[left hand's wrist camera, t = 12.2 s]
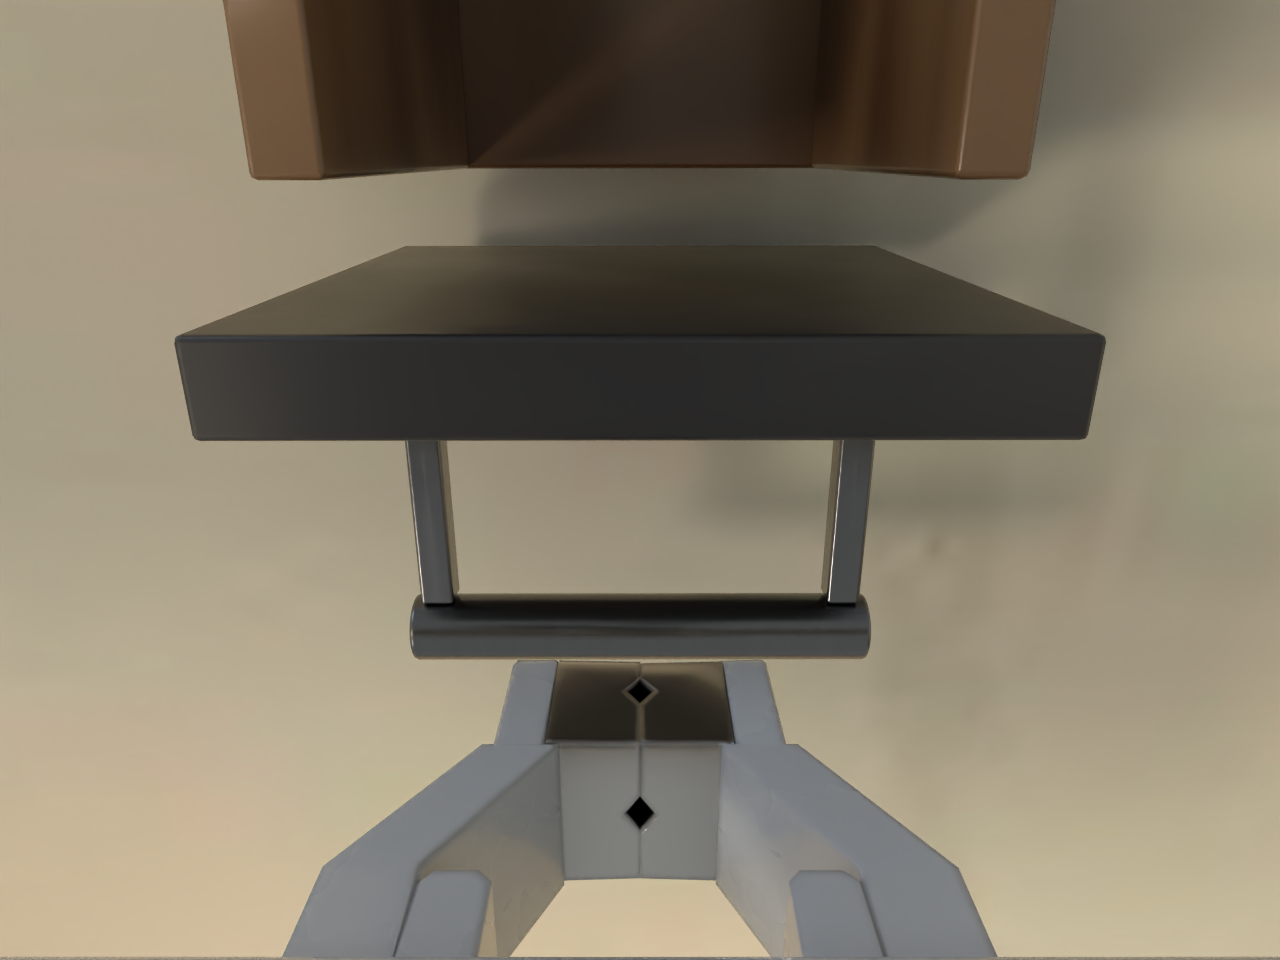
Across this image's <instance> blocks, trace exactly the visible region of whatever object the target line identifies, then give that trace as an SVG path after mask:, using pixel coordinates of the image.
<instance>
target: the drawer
mask: <svg viewBox="0 0 1280 960" xmlns="http://www.w3.org/2000/svg"><path fill="white" fill-rule="evenodd" d="M1055 1H1056V0H223V3H224V10H225V16H226V23H227V29H228V36H229V42H230V49H231V55H232V62H233V68H234V74H235V81H236V87H237V94H238V100H239V107H240V113H241V120H242V126H243V133H244V139H245V146H246V152H247V159H248V165H249V171H250V174H251V177H252V178H254V179H257V180H328V179H340V178H353V177H365V176H377V175H390V174H402V173H415V172H427V171H440V170H452V169H464V168H821V169H834V170H847V171H860V172H872V173H885V174H898V175H911V176H924V177H937V178H950V179H1021V178H1023V177H1026V176H1027V174H1028V172H1029V170H1030V165H1031V158H1032V152H1033V145H1034V139H1035V132H1036V125H1037V119H1038V112H1039V106H1040V99H1041V93H1042V86H1043V80H1044V73H1045V66H1046V60H1047V53H1048V47H1049V40H1050V34H1051V27H1052V20H1053V14H1054V7H1055ZM1105 344H1106V341H1105V337H1104V336H1103V335H1101V334H1099V333H1096V332H1094V331H1091V330H1089V329H1086V328H1084V327H1081V326H1078V325H1076V324H1073V323H1071V322H1068V321H1066V320H1063V319H1060V318H1058V317H1055V316H1053V315H1050V314H1048V313H1045V312H1042V311H1040V310H1037V309H1035V308H1032V307H1030V306H1027V305H1025V304H1022V303H1019V302H1017V301H1014V300H1012V299H1009V298H1007V297H1004V296H1001V295H999V294H996V293H994V292H991V291H989V290H986V289H983V288H981V287H978V286H976V285H973V284H971V283H968V282H966V281H963V280H960V279H958V278H955V277H953V276H950V275H948V274H945V273H942V272H940V271H937V270H935V269H932V268H930V267H927V266H924V265H922V264H919V263H917V262H914V261H912V260H909V259H906V258H904V257H901V256H899V255H896V254H894V253H891V252H889V251H886V250H883V249H881V248H878V247H876V246H405V247H403V248H400V249H398V250H395V251H392V252H390V253H387V254H385V255H382V256H380V257H377V258H375V259H372V260H370V261H367V262H364V263H362V264H359V265H357V266H354V267H352V268H349V269H347V270H344V271H342V272H339V273H336V274H334V275H331V276H329V277H326V278H324V279H321V280H319V281H316V282H314V283H311V284H308V285H306V286H303V287H301V288H298V289H296V290H293V291H291V292H288V293H286V294H283V295H281V296H278V297H275V298H273V299H270V300H268V301H265V302H263V303H260V304H258V305H255V306H253V307H250V308H247V309H245V310H242V311H240V312H237V313H235V314H232V315H230V316H227V317H225V318H222V319H219V320H217V321H214V322H212V323H209V324H207V325H204V326H202V327H199V328H197V329H194V330H191V331H189V332H186V333H184V334H181V335H179V336H177V337H176V338H175V348H176V354H177V359H178V364H179V369H180V374H181V379H182V384H183V389H184V394H185V399H186V404H187V409H188V414H189V419H190V424H191V429H192V435H193V437H194V438H195V439H196V440H200V441H405V446H406V456H407V465H408V475H409V484H410V494H411V503H412V513H413V523H414V532H415V542H416V551H417V561H418V570H419V580H420V590H421V594H420V595H418V596H417V597H416V599H415V601H414V604H413V607H412V611H411V617H410V644H411V649H412V653H413V655H414V657H415V658H417V659H862V658H865V657H866V656H867V654H868V651H869V647H870V640H871V621H870V613H869V608H868V605H867V602H866V599H865V598H864V596H863V595H862V594H860V584H861V574H862V564H863V555H864V545H865V535H866V525H867V516H868V506H869V496H870V486H871V477H872V467H873V457H874V447H875V440H1081V439H1084V438H1086V436H1087V435H1088V431H1089V426H1090V421H1091V416H1092V410H1093V405H1094V400H1095V395H1096V390H1097V385H1098V380H1099V375H1100V370H1101V364H1102V359H1103V354H1104V349H1105ZM517 440H834V442H833V454H832V466H831V478H830V489H829V501H828V513H827V525H826V537H825V549H824V561H823V572H822V584H821V589H822V591H823V593H588V594H457V593H458V590H459V580H458V568H457V556H456V545H455V533H454V522H453V510H452V498H451V487H450V475H449V464H448V452H447V441H517Z"/></svg>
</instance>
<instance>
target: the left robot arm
mask: <svg viewBox="0 0 1280 960" xmlns="http://www.w3.org/2000/svg"><path fill="white" fill-rule="evenodd" d="M627 878H651V879H687V880H716V885H717V886H718V887H719V889H720V890H721V891H722V893H723V894H724V895H725V897H726V898H727V899H728V901H729V902H730V903H731V904H732V906H733V907H734V908H735V910H736V911H737V912H738V914H739V915H740V916H741V918H742V919H743V920H744V922H745V923H746V924H747V926H748V927H749V928H750V930H751V931H752V932H753V934H754V935H755V936H756V938H757V939H758V940H759V942H760V943H761V944H762V946H763V947H764V948H765V950H766V951H767V952H768V954H769V955H770V956H771V957H510V955H511V954H512V953H513V952H514V950H515V949H516V948H517V946H518V945H519V944H520V942H521V941H522V940H523V938H524V937H525V936H526V934H527V933H528V932H529V930H530V929H531V928H532V926H533V925H534V924H535V922H536V921H537V920H538V919H539V917H540V916H541V915H542V913H543V912H544V911H545V909H546V908H547V907H548V905H549V904H550V903H551V901H552V900H553V899H554V897H555V896H556V895H557V893H558V892H559V891H560V889H561V888H562V887H563V886H564V880H592V879H627ZM0 960H1280V957H997V954H996V952H995V950H994V948H993V945H992V943H991V941H990V938H989V936H988V934H987V932H986V929H985V927H984V925H983V923H982V920H981V918H980V916H979V914H978V911H977V909H976V907H975V904H974V902H973V900H972V898H971V895H970V893H969V891H968V889H967V886H966V884H965V882H964V880H963V877H962V875H961V873H960V870H959V868H958V867H957V866H955V865H954V864H953V863H951V862H950V861H949V860H947V859H946V858H945V857H944V856H942V855H941V854H940V853H938V852H937V851H936V850H934V849H933V848H932V847H931V846H929V845H928V844H927V843H925V842H924V841H923V840H921V839H920V838H919V837H918V836H916V835H915V834H914V833H912V832H911V831H910V830H909V829H907V828H906V827H905V826H903V825H902V824H901V823H899V822H898V821H897V820H896V819H894V818H893V817H892V816H890V815H889V814H888V813H886V812H885V811H884V810H883V809H881V808H880V807H879V806H877V805H876V804H875V803H873V802H872V801H871V800H870V799H868V798H867V797H866V796H864V795H863V794H862V793H861V792H859V791H858V790H857V789H855V788H854V787H853V786H851V785H850V784H849V783H848V782H846V781H845V780H844V779H842V778H841V777H840V776H838V775H837V774H836V773H835V772H833V771H832V770H831V769H829V768H828V767H827V766H825V765H824V764H823V763H822V762H820V761H819V760H818V759H816V758H815V757H814V756H813V755H811V754H810V753H809V752H807V751H806V750H805V749H803V748H802V747H801V746H800V745H798V744H786V742H785V738H784V734H783V730H782V726H781V722H780V718H779V714H778V710H777V706H776V702H775V698H774V694H773V690H772V686H771V682H770V678H769V674H768V670H767V666H766V663H765V662H764V661H763V660H738V661H722V662H680V663H640V662H610V661H561V660H560V661H559V662H557V661H556V660H518V661H517V662H516V663H515V665H514V666H513V669H512V673H511V677H510V681H509V685H508V689H507V693H506V697H505V702H504V706H503V710H502V714H501V718H500V722H499V726H498V730H497V734H496V738H495V742H494V744H482V745H481V746H479V747H478V748H477V749H475V750H474V751H473V752H471V753H470V754H469V755H467V756H466V757H465V758H464V759H462V760H461V761H460V762H458V763H457V764H456V765H454V766H453V767H452V768H451V769H449V770H448V771H447V772H445V773H444V774H443V775H441V776H440V777H439V778H437V779H436V780H435V781H434V782H432V783H431V784H430V785H428V786H427V787H426V788H424V789H423V790H422V791H421V792H419V793H418V794H417V795H415V796H414V797H413V798H411V799H410V800H409V801H408V802H406V803H405V804H404V805H402V806H401V807H400V808H398V809H397V810H396V811H394V812H393V813H392V814H391V815H389V816H388V817H387V818H385V819H384V820H383V821H381V822H380V823H379V824H378V825H376V826H375V827H374V828H372V829H371V830H370V831H368V832H367V833H366V834H364V835H363V836H362V837H361V838H359V839H358V840H357V841H355V842H354V843H353V844H351V845H350V846H349V847H348V848H346V849H345V850H344V851H342V852H341V853H340V854H338V855H337V856H336V857H335V858H333V859H332V860H331V861H329V862H328V863H327V864H325V865H324V866H323V867H322V869H321V871H320V874H319V876H318V878H317V880H316V883H315V885H314V887H313V889H312V892H311V894H310V896H309V898H308V901H307V903H306V905H305V907H304V909H303V912H302V914H301V916H300V918H299V921H298V923H297V925H296V927H295V930H294V932H293V934H292V936H291V939H290V941H289V943H288V945H287V947H286V950H285V952H284V954H283V956H282V957H0Z"/></svg>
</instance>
